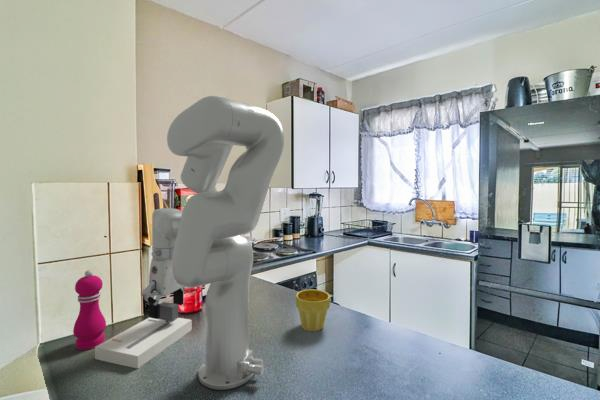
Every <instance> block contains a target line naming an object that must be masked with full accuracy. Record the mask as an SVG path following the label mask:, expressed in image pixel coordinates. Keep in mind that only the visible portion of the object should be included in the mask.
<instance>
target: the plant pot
mask: <svg viewBox="0 0 600 400" xmlns="http://www.w3.org/2000/svg"><path fill="white" fill-rule="evenodd" d="M330 306H331V295H330V293H329V292H327V291H325V290H321V289H304V290H299V291H298V292H297V293H296V295H295V307H296V308H297V310H298V314H299V321H300V324H301V327H302V329H303V328H304V329H303V330H305V331H307V330H309V331H308V332H318V331H317V330H319V331H321V330H322V329H323V328H324V325H325V321H326V316H327V312H328V310H329V309H330ZM320 329H321V330H320Z"/></svg>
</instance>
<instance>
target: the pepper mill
mask: <svg viewBox="0 0 600 400" xmlns="http://www.w3.org/2000/svg"><path fill="white" fill-rule="evenodd" d="M102 288H103V280H102V279H101V277H100V276H98V275H94V273H93V270H91V269H88V270H85V272H84V276H82V277H80V278H79V279H78V280H77V281H76V283H75V285H74V290H75V293H77V295H78V296H77V302H78V303H79V312H78V315H77V318H76V320H75V322H74V324H73V331H72V332H73V336H74V337H76V340H75V348H76V349H77V350H80V351H86V350H91V349H95V347H96V346H98V345H100V344H101V343H103V342H105V333H104V331H105V330H106V328H107V321H106V318H105V316H104V315H103V312H102V311H101V309H100V303H99V301H100V299H101V298H102V297H101V294H102V293H101V292H100V291H101V290H102Z"/></svg>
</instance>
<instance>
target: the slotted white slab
mask: <svg viewBox="0 0 600 400" xmlns="http://www.w3.org/2000/svg"><path fill="white" fill-rule="evenodd" d="M192 323H193V320H192V319H188V318H182V317H178V318H177V319H175V320H174V321H170V322H169V323H167V322H165V320H161V319H155V318H150V317H149V316H148V317H147V318H146V319H144V320H142V321H140V322H138V323H136V324H135V325H133V326H130V327H129V328H127V329H125V330H124V331H122V332H120V333H118V334H116V335H114V336H113V337H111V338H109V339H107V340H104V342H103V343H101V344H100V345H98V346H96V347H95V348H94V358H95V360H97V361H102V362H106V363H111V364H115V365H116V364H117V365H120V366H125V367H128V368H129V367H130V368H133V369H140V368H141V367H142V366H144V365H145V364H147V363H148V362H149V361H151V360H152V359H154V358H155V357H156V356H158V355H159V354H160V353H162V352H163V351H165V350H166V349H168V348H169V347H170V346H171V345H173V344H174V343H175V342H177V341H178V340H180V339H182V338H183V337H184V336H185V335H187V334H188V333H189V332H191V331H192V330H193V324H192Z"/></svg>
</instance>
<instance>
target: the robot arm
mask: <svg viewBox="0 0 600 400" xmlns="http://www.w3.org/2000/svg"><path fill="white" fill-rule="evenodd" d="M166 142H167V147H168V149H169V151H170V152H171V153H172V154H173V155H175V156H179V157H187V158H186V159H185V163H184V164H183V167H182V170H181V173H180V180H181V182H182V184H183V185H184V186H185V187H186V188H188V189H189V190H191V192H193V193H195V194H193V195H192V196H191V197H189V199H188V200H187V201H186V203H185V204H184V207H183V209H177V208H171V207H170V208H169V207H168V208H167V207H165V208H157V209H155V210H154V211H153V212H152V214H151V215H152V216H151V217H152V219H151V225H152V226H151V227H152V228H151V229H152V230H151V235H152V238H151V240H152V241H151V243H152V245H151V247H152V250H151V254H150V255H151V256H152V257H151V260H150V261H151V262H150V265H149V266H150V267H149V272H148V273H149V275H148V285H147V286H146V287H145V288H144V289H143V291H142V292H141V295H142V298H143V300H144V301H145V302H146V304H147V305H148V318H149V317H150V318H155V319H159V318H160V304H161V303H160V300H161V299H162V297H166V296H169V295H171V294H172V293H173V296H172V297H173V299H172V301H173V304H178V306H179V305H180V306H182V305H184V291H185V290H186V288H189V289H193V288H198V287H200V286H205V285H209V287H208V289H207V291H206V295H205V302H204V303H205V307H204V308H205V361H204V362H203V363H202V364H201V365H200V367H199V369H198V380H199V382H200V383H201V384H202V385H203V386H205V387H207V389H208V388H209V389H212V390H217V391H218V390H219V391H223V390H225V391H226V390H231V389H235V388H239V387H240V386H242V385H245V384H246V383H247V382H249V381H250V380H251V379H252V378H253V376H254V375H258V376H261V377H262V376H263V374H264V372H265V366H264V360H263V359H260V358H255V357H254V354H253V353H254V351H253V349H250V348H249V347H250V346H249V343H250V342H249V325H250V324H249V321H250V320H249V318H250V317H249V315H250V313H249V310H250V309H249V308H250V307H249V304H250V303H249V301H250V300H249V299H250V293H249V292H250V280H251V274H252V273H251V272H252V270H253V263H254V249H253V246H252V244H251V242H250V241H249V240H248V239H247V238H246V237H245V235H248V234H250V233H252V232H253V231H254V230H255V229H256V227H257V225H258V222H259V220H260V216H261V214H262V211H263V206H264V205H265V204H264V203H265V200H266V198H267V194H268V191H269V187H270V183H271V180H272V179H273V176H274V174H275V173H274V172H275V171H276V169H277V167H278V164H279V162H280V159H281V157H282V154H283V151H284V146H285V134H284V129H283V126H282V124H281V122H280V120H279V119H278V118H277V116H275V114H273V113H271V112H270V111H269V110H267V109H264V108H262V107H260V106H256V105H254V104H253V105H252V104H249V103H246V102H239V101H236V100H234V99H233V100H232V99H230V98H225V97H221V96H218V95H217V96H216V95H209V96H205V97H202V98H200V99H198V100H196V102H195V103H193V104H191V105H190V106H189V107H187V108H186V109H184V110H183V111H182V112H181V113H179V114H178V115H177V116H176V117H175V118H174V119H173V120H172V122H171V124H170V125H169V128H168V130H167V136H166ZM233 146H237V147H238V146H239V147H245V151H243V153H241V155H239V156H238V157H237V159H236V160H235V161H234V163H233V165H231V167H230V170H229V172H228V177H227V180H226V184H225V186H224V188H223V189H222V190H219V191H218V190H217V188H216V186H217V184H218V181H219V179H220V177H221V174H222V171H223V169H224V167H225V165H226V163H227V160H228V158H229V157H230V153H231V151H232V150H233V149H232V148H233ZM155 296H156V297H155ZM154 298H155V299H154Z"/></svg>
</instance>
